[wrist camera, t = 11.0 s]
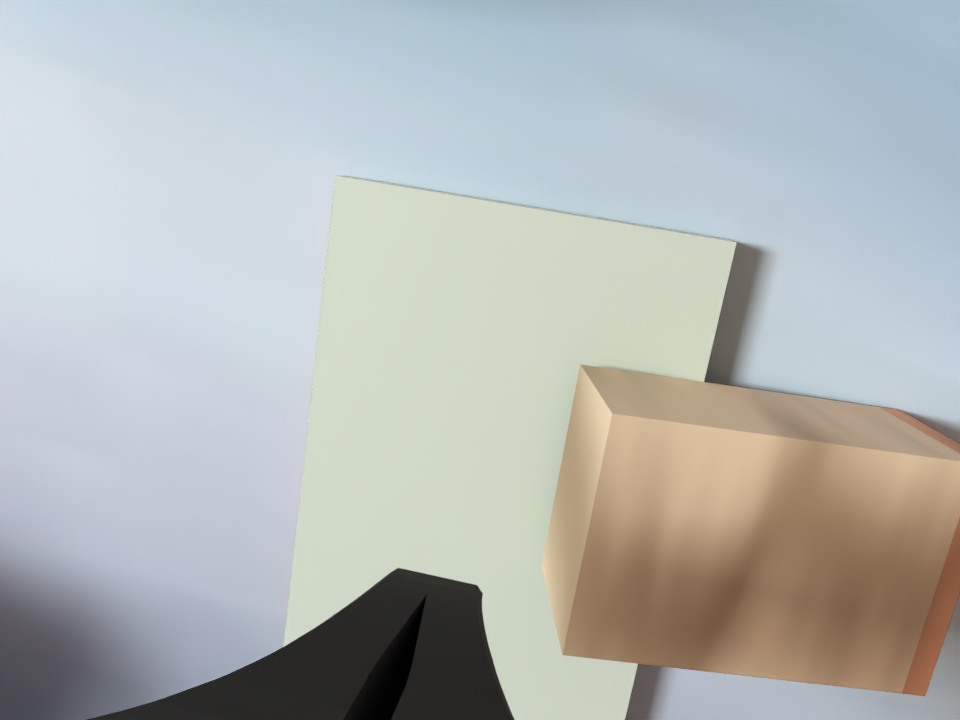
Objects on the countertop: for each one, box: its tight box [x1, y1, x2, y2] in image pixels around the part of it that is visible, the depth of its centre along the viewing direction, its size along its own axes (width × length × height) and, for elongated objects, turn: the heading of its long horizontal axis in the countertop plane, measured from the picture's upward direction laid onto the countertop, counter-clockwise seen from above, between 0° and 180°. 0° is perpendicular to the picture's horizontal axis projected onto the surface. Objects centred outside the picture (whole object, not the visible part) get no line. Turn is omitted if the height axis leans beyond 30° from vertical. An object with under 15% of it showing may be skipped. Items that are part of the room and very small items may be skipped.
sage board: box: [284, 176, 737, 720], centre depth 19 cm, size 13×9×1 cm
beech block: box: [542, 364, 960, 696], centre depth 17 cm, size 5×4×8 cm
